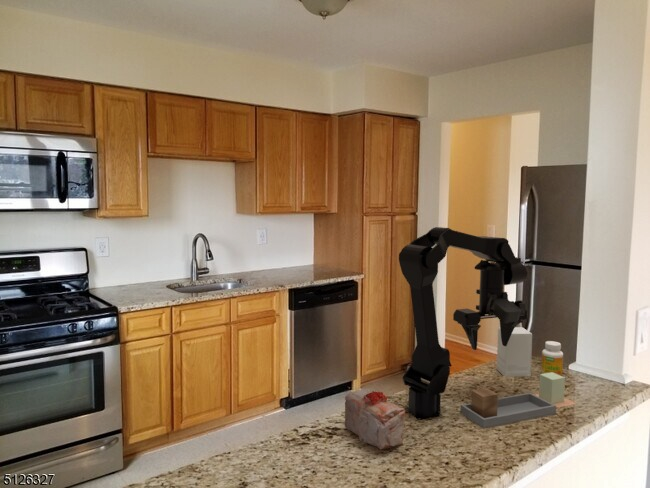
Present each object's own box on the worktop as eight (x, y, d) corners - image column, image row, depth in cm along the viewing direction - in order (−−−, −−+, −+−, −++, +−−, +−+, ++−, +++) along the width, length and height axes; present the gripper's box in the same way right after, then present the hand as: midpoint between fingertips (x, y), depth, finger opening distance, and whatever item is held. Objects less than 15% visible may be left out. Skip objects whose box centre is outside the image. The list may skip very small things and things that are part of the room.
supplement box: (531, 378, 139) (533, 333, 138) (504, 378, 139) (506, 333, 138) (521, 369, 146) (523, 326, 145) (495, 369, 146) (497, 326, 145)
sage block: (551, 404, 120) (552, 379, 120) (538, 397, 124) (539, 374, 124) (564, 401, 122) (565, 377, 121) (551, 395, 126) (552, 372, 125)
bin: (483, 431, 108) (483, 419, 108) (460, 415, 116) (460, 404, 115) (555, 416, 115) (556, 405, 115) (529, 402, 123) (530, 392, 123)
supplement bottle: (542, 379, 138) (543, 345, 137) (539, 372, 143) (541, 339, 142) (563, 381, 136) (565, 346, 135) (560, 374, 142) (562, 341, 141)
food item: (410, 445, 102) (411, 398, 101) (381, 457, 97) (382, 409, 96) (366, 421, 113) (366, 378, 112) (338, 431, 108) (338, 387, 107)
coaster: (551, 411, 118) (551, 408, 118) (526, 398, 125) (526, 395, 125) (577, 405, 121) (577, 403, 121) (551, 393, 128) (551, 391, 128)
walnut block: (482, 423, 110) (483, 396, 110) (470, 415, 114) (471, 390, 114) (497, 420, 112) (497, 394, 111) (485, 413, 116) (486, 387, 115)
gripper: (481, 295, 115) (479, 361, 117) (545, 290, 121) (542, 353, 123) (452, 287, 125) (451, 348, 127) (513, 282, 132) (510, 340, 133)
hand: (489, 347), depth 127 cm, fingers open, 9 cm apart
